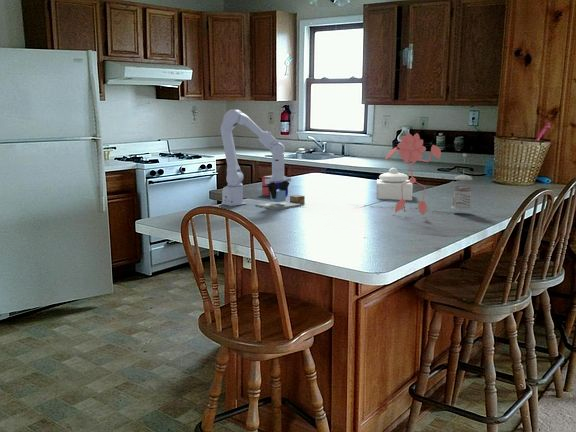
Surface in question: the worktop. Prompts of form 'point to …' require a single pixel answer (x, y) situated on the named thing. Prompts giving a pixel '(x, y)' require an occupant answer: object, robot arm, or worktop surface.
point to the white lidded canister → (394, 186)
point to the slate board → (279, 205)
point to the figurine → (412, 151)
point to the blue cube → (279, 196)
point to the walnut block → (297, 199)
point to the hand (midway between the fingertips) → (278, 197)
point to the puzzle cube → (265, 188)
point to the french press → (462, 193)
